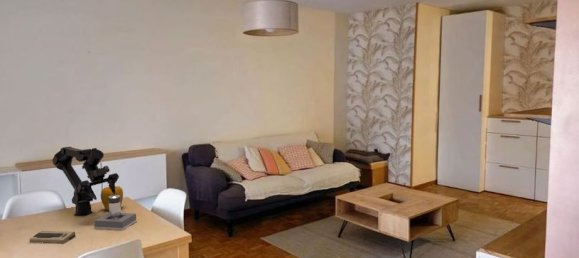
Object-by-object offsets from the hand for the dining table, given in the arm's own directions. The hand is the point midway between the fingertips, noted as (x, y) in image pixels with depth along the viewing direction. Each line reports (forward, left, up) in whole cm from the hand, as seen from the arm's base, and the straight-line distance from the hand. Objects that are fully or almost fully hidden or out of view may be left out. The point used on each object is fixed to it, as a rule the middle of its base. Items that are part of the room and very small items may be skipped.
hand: (105, 196), depth 198 cm
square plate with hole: (+7, -4, -13) cm, 15 cm away
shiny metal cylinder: (+7, -4, -12) cm, 14 cm away
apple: (-9, +19, -13) cm, 25 cm away
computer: (-10, -24, -13) cm, 29 cm away
